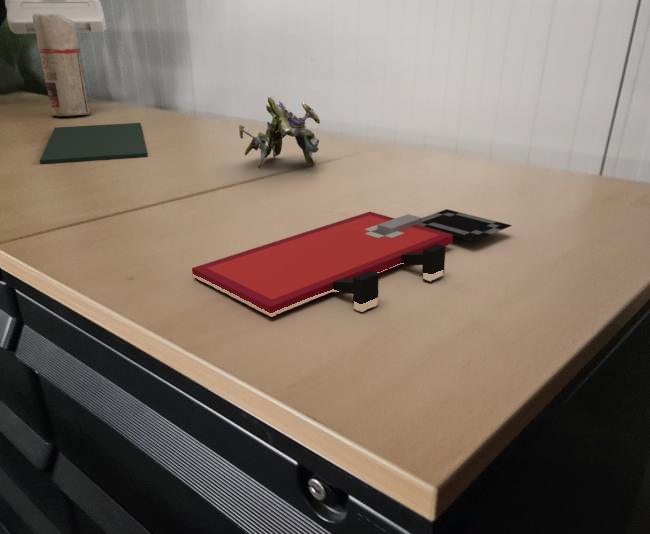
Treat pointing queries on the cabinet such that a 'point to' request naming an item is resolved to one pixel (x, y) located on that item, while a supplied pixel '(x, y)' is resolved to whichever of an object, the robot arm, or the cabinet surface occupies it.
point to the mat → (94, 143)
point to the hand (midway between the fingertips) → (60, 45)
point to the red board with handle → (342, 257)
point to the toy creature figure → (284, 132)
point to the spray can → (61, 64)
